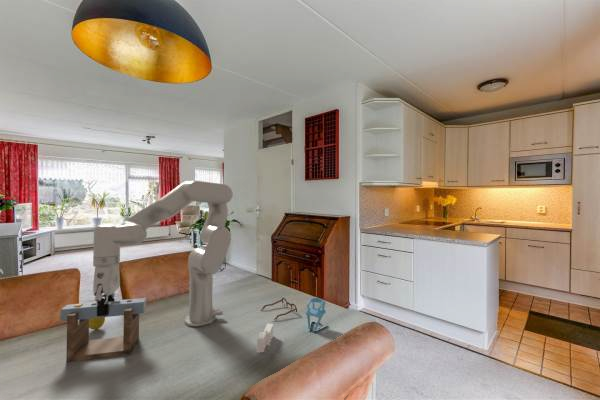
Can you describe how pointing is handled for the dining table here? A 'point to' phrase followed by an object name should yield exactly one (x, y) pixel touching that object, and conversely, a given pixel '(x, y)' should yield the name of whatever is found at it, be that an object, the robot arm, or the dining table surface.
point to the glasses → (286, 305)
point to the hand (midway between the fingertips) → (105, 312)
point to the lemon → (96, 323)
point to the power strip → (114, 310)
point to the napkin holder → (264, 338)
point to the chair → (315, 311)
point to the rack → (91, 349)
